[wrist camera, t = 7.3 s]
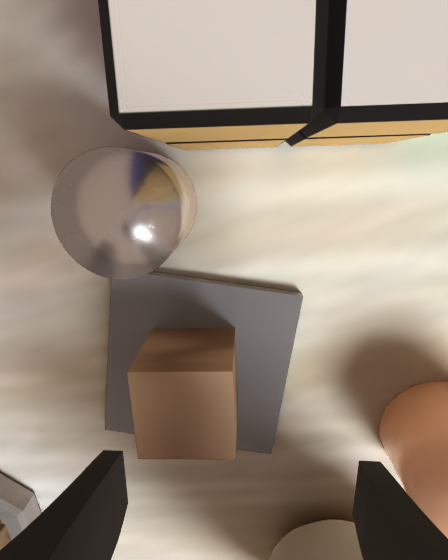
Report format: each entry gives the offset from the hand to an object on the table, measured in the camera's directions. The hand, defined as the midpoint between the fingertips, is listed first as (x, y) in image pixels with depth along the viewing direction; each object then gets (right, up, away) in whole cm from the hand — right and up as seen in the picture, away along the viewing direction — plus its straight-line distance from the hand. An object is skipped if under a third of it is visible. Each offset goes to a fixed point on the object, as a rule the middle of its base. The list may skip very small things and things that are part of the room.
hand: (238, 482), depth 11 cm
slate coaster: (-2, +1, +10) cm, 10 cm away
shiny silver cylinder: (-4, +10, +8) cm, 13 cm away
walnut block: (-2, +1, +9) cm, 10 cm away
